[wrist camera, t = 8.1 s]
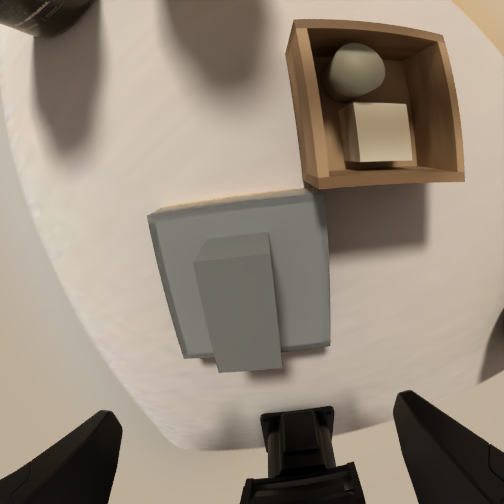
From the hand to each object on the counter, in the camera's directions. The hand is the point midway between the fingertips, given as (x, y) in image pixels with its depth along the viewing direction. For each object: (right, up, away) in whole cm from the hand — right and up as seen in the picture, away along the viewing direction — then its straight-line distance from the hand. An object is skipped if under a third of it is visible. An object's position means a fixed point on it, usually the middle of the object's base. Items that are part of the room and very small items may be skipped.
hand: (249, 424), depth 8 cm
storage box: (+7, +13, +8) cm, 17 cm away
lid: (0, +4, +11) cm, 12 cm away
